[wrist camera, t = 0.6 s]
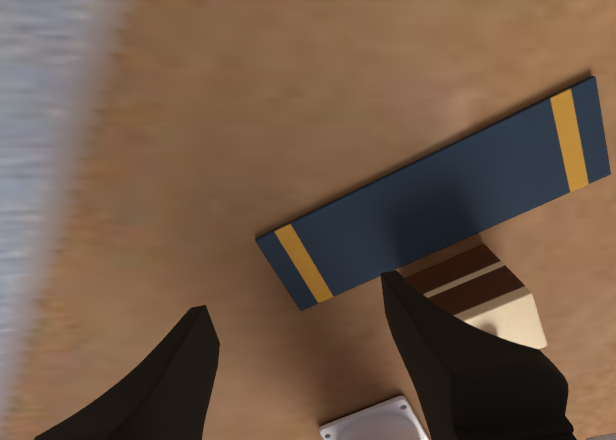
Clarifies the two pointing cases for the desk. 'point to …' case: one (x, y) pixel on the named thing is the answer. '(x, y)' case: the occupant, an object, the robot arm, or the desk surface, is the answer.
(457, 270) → the cake slice
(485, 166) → the cloth
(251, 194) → the desk surface
